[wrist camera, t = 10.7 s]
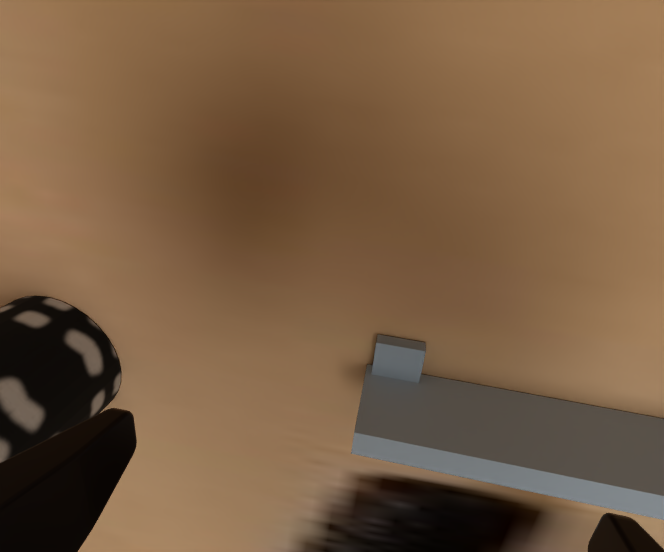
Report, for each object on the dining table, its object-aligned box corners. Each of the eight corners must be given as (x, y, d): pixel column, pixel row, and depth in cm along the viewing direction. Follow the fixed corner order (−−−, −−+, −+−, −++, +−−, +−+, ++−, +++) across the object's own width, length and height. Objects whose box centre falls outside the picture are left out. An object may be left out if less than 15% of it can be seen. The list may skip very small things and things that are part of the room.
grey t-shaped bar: (765, 402, 20) (869, 495, 15) (715, 480, 22) (793, 583, 17) (371, 333, 22) (359, 396, 17) (360, 410, 24) (346, 484, 19)
